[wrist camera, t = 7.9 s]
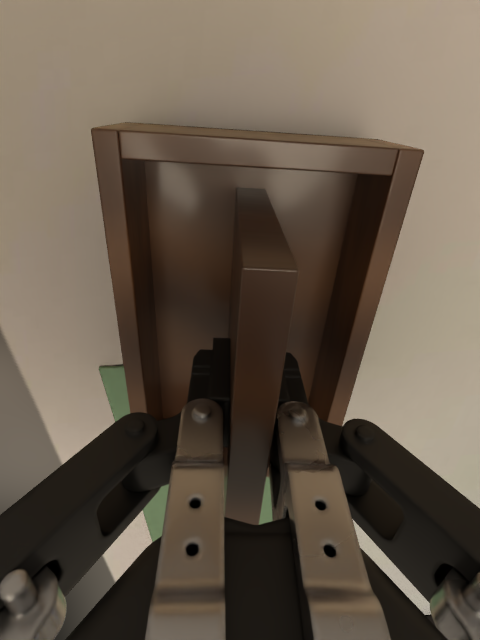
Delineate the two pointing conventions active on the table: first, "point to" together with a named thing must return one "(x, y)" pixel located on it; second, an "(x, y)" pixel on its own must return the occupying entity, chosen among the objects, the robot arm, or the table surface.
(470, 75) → the table surface
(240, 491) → the cutlery caddy
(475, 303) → the table surface
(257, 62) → the table surface
